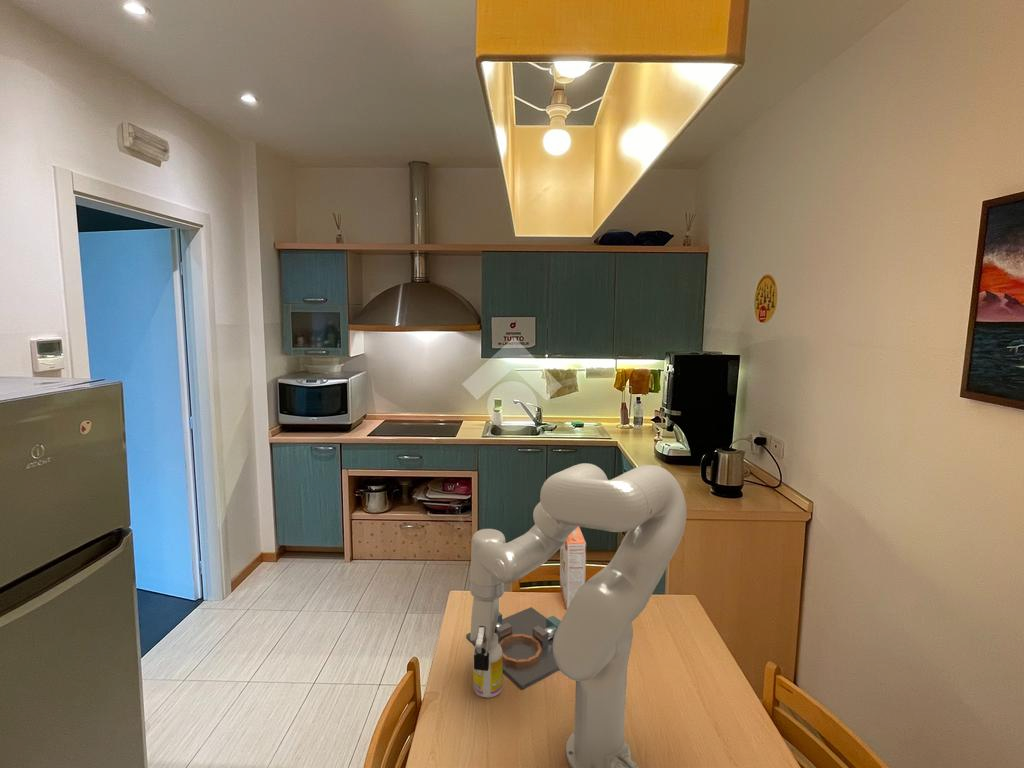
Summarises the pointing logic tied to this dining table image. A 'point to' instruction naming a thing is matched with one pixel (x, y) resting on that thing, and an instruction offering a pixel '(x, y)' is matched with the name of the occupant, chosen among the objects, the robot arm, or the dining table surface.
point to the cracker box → (572, 565)
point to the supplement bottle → (490, 671)
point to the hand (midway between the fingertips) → (485, 654)
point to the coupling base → (526, 646)
